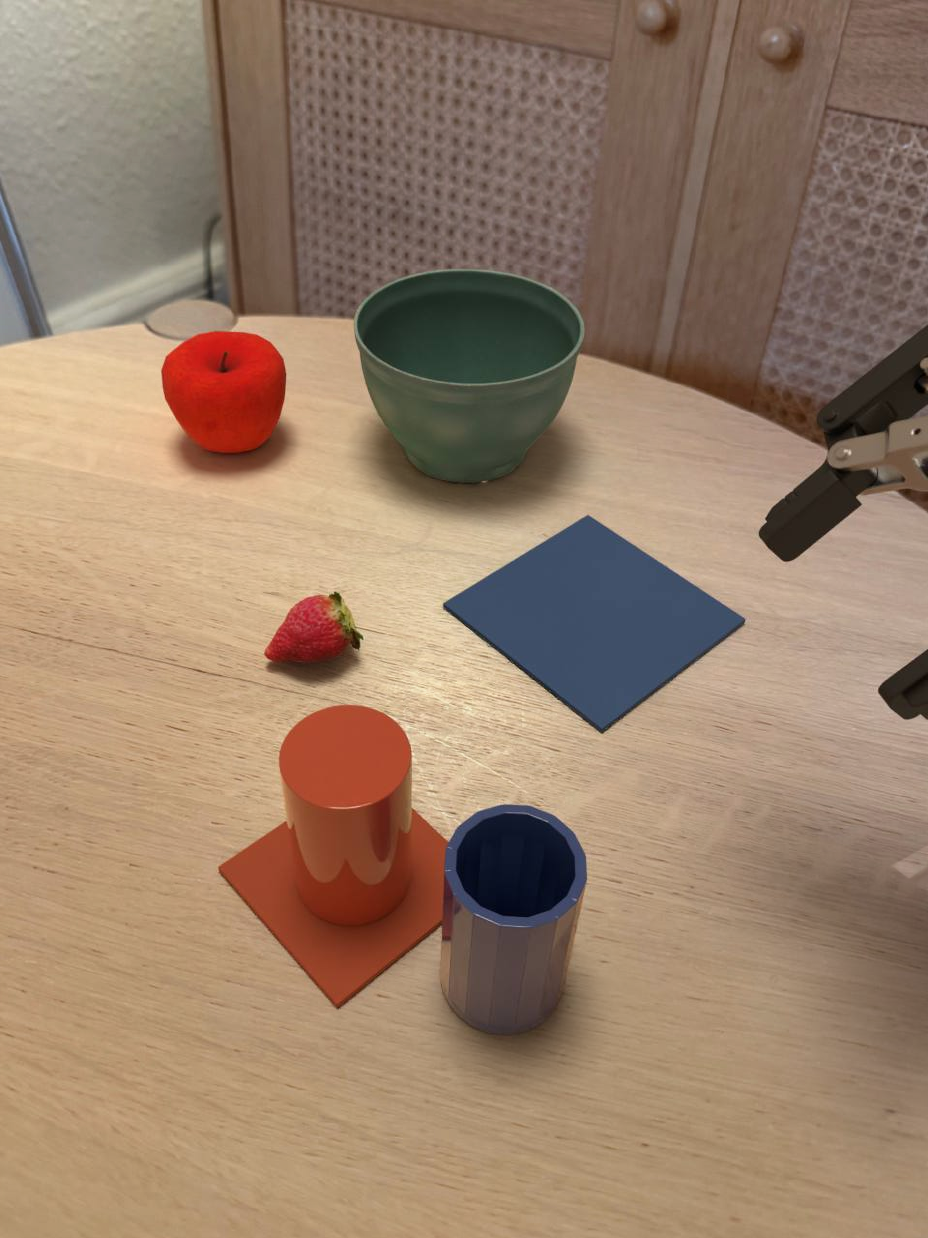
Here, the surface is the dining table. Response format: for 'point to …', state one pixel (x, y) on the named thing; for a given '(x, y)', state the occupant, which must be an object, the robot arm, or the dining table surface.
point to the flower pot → (467, 366)
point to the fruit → (315, 631)
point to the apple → (225, 389)
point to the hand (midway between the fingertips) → (827, 622)
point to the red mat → (331, 949)
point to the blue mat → (594, 620)
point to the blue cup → (509, 916)
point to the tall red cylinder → (349, 812)
